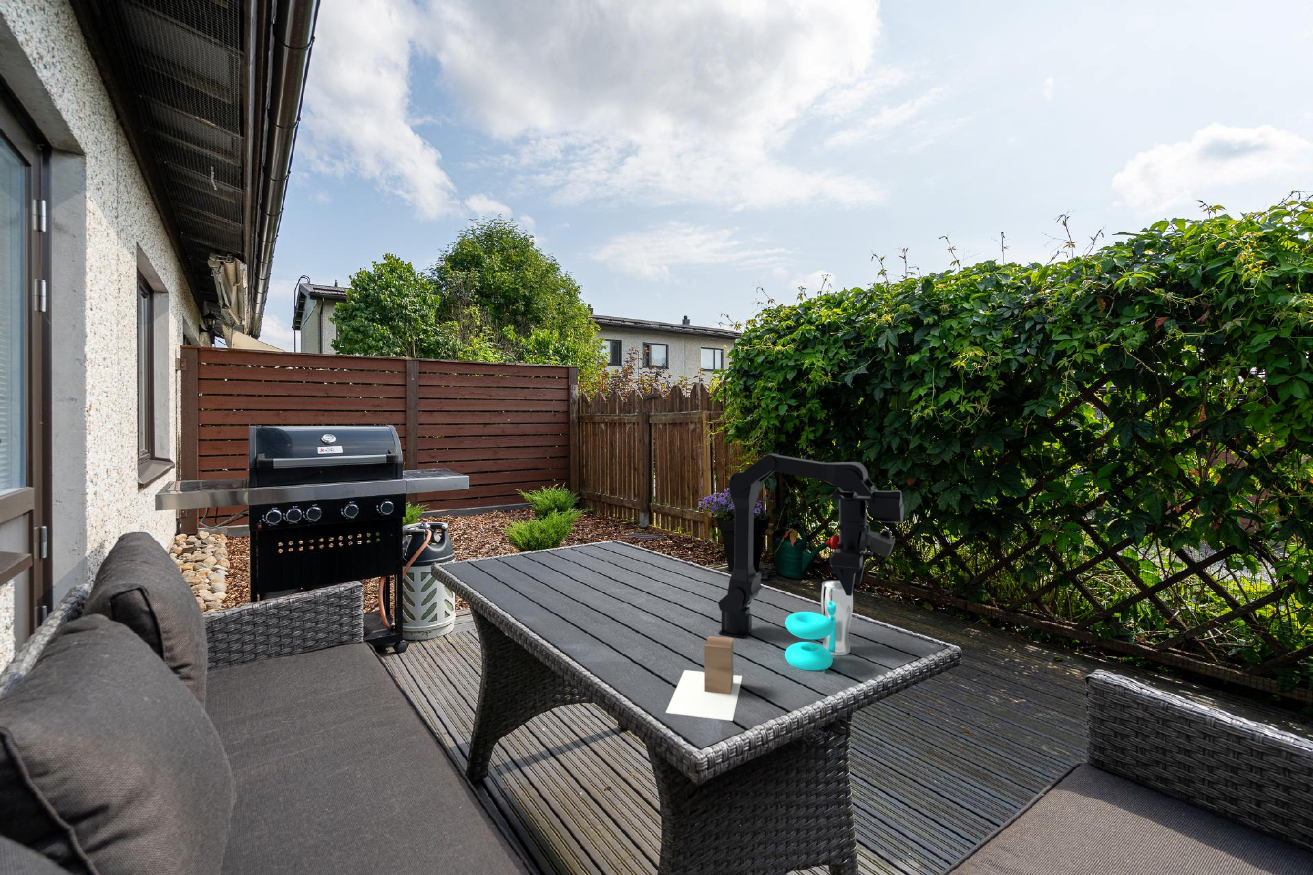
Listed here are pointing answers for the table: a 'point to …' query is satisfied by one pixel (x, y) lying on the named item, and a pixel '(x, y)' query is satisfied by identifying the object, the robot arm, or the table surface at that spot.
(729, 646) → the walnut block
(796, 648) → the donuts
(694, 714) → the white mat
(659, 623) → the table surface
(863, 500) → the robot arm
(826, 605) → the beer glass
